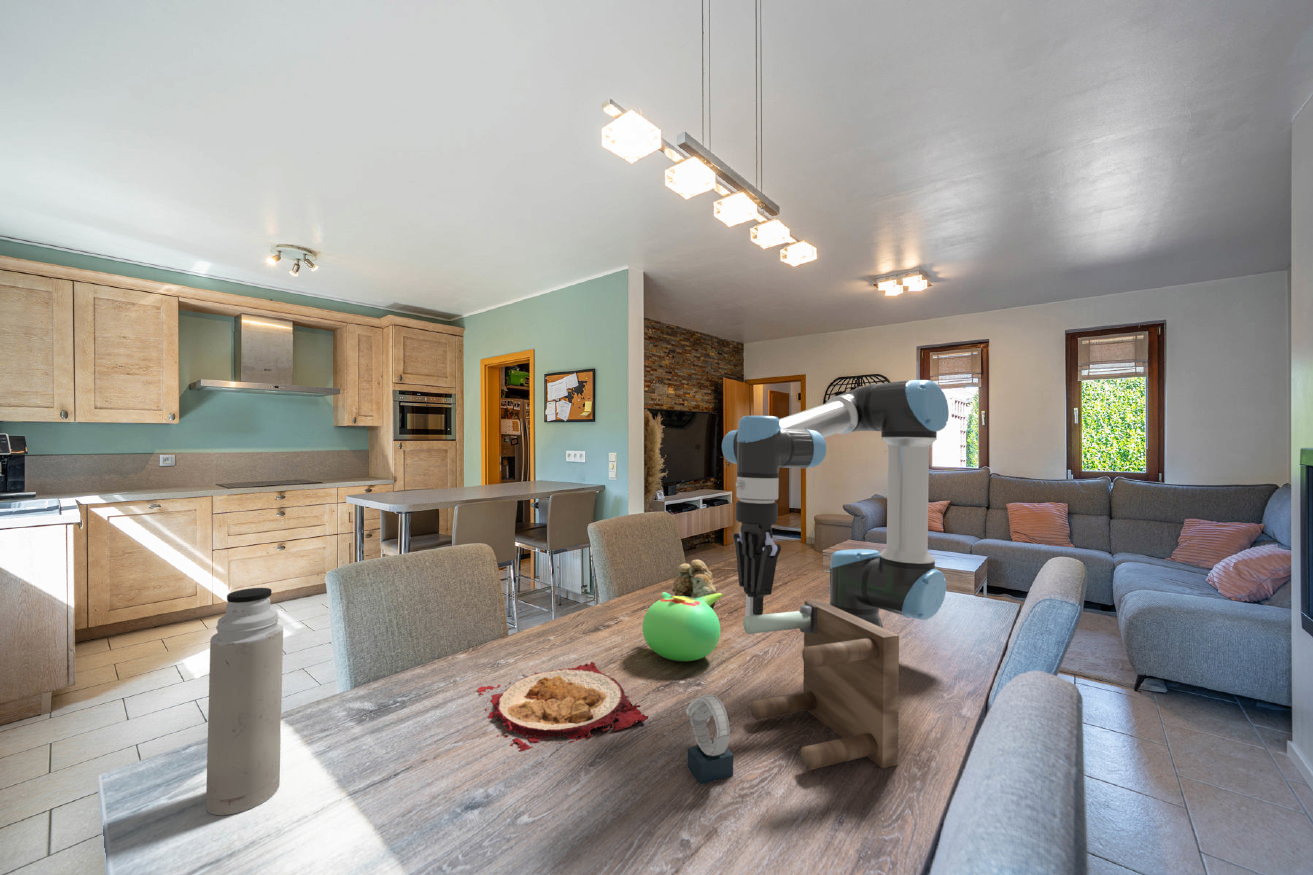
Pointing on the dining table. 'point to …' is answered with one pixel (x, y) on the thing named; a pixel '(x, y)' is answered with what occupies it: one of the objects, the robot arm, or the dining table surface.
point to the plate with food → (563, 705)
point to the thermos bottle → (244, 704)
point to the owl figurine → (694, 581)
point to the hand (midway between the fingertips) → (753, 630)
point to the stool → (845, 688)
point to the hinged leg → (779, 621)
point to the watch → (709, 741)
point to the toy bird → (682, 627)
